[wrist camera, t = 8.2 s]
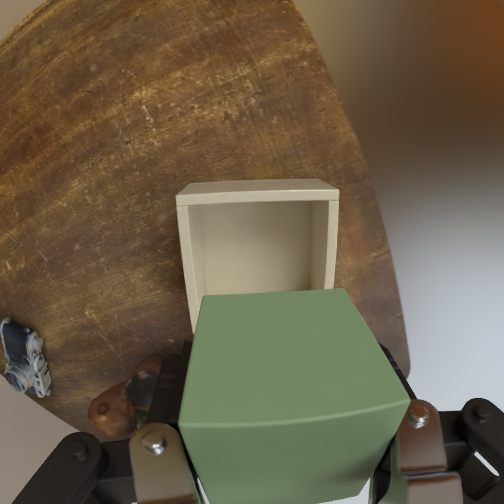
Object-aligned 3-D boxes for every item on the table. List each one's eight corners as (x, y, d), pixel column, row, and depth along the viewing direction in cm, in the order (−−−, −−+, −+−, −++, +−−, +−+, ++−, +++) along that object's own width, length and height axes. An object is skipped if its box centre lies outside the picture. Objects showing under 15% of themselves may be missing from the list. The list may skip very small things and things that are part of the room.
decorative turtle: (100, 330, 24) (69, 390, 16) (270, 348, 26) (289, 414, 18) (112, 403, 26) (95, 462, 19) (253, 418, 29) (264, 478, 21)
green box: (202, 294, 9) (176, 424, 5) (344, 286, 9) (413, 399, 5) (217, 400, 11) (212, 510, 6) (327, 392, 11) (359, 496, 7)
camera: (44, 327, 24) (24, 353, 20) (54, 392, 27) (41, 417, 23) (8, 310, 23) (-14, 332, 19) (21, 376, 26) (7, 398, 22)
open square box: (188, 183, 20) (175, 195, 15) (318, 178, 20) (339, 189, 16) (200, 298, 23) (192, 334, 18) (314, 293, 23) (329, 326, 19)
